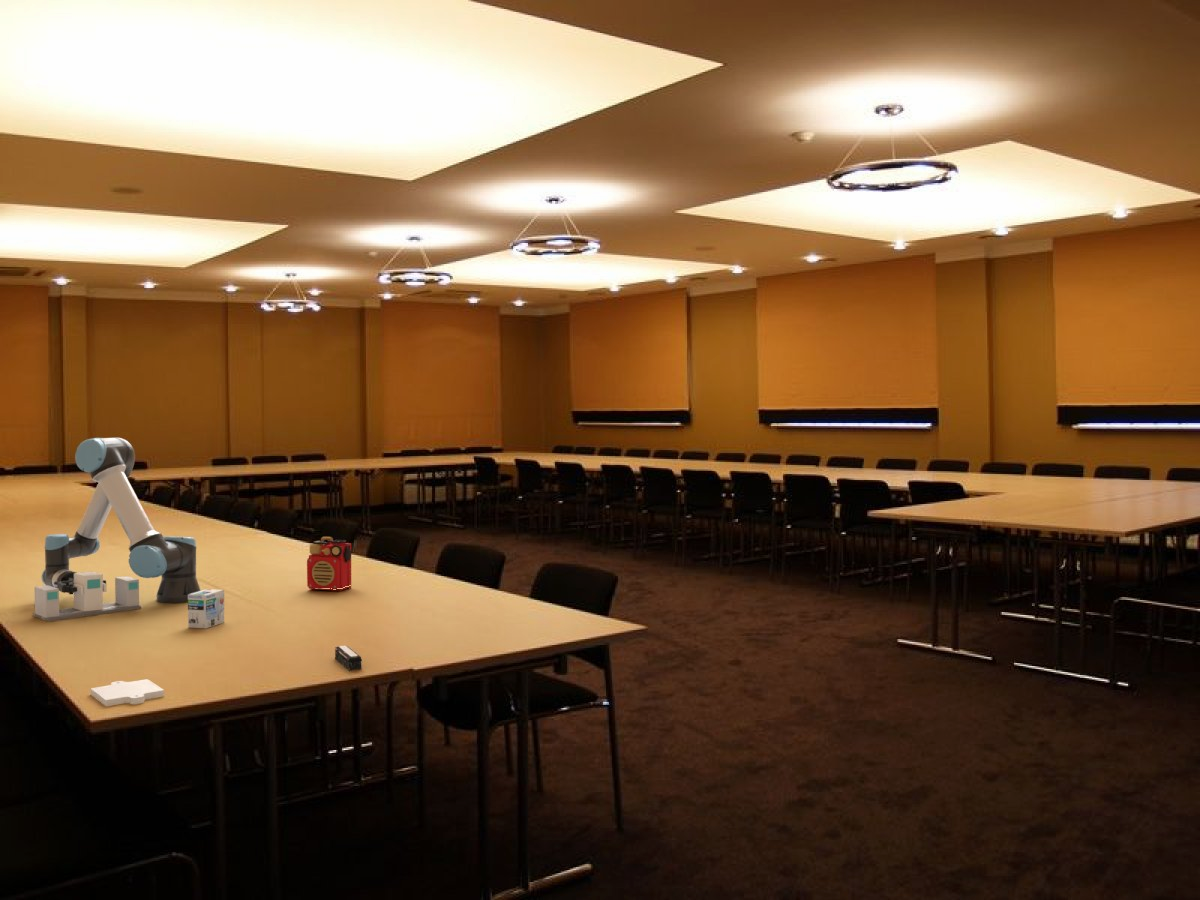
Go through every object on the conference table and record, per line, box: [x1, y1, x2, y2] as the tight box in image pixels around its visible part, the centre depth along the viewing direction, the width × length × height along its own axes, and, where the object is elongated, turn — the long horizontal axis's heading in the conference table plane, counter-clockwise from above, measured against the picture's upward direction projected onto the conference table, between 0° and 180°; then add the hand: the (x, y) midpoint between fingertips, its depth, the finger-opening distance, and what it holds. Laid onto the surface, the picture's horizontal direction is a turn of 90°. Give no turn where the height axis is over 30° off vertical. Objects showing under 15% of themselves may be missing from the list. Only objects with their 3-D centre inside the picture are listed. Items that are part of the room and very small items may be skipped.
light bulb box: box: [187, 588, 225, 629], centre depth 320 cm, size 11×7×11 cm, turn 168°
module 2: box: [114, 575, 140, 607], centre depth 349 cm, size 4×10×9 cm, turn 48°
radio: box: [306, 536, 352, 592], centre depth 386 cm, size 16×10×20 cm, turn 76°
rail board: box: [32, 601, 142, 622], centre depth 339 cm, size 30×13×1 cm, turn 138°
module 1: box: [34, 584, 60, 618], centre depth 330 cm, size 4×10×9 cm, turn 48°
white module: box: [73, 571, 104, 612], centre depth 339 cm, size 6×9×12 cm, turn 48°
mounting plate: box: [90, 678, 165, 707], centre depth 239 cm, size 18×13×2 cm
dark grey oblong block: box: [334, 645, 363, 672], centre depth 273 cm, size 14×25×4 cm, turn 29°
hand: (93, 589), depth 336 cm, fingers open, 7 cm apart
